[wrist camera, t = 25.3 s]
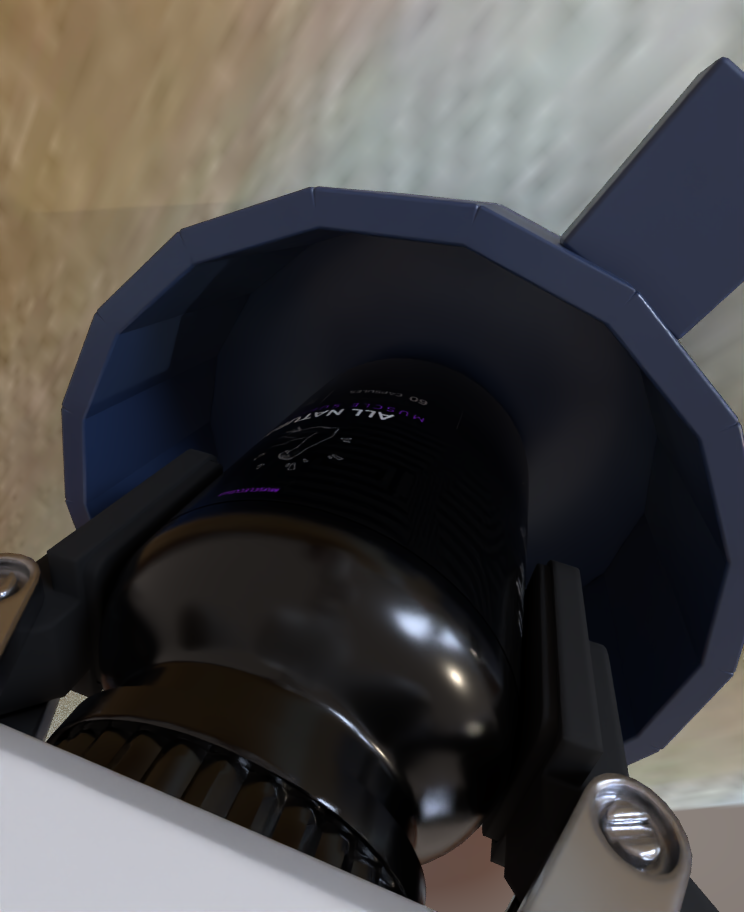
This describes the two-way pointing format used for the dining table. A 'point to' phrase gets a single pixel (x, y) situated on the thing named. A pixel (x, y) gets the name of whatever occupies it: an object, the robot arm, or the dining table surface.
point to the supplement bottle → (333, 629)
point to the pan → (480, 372)
